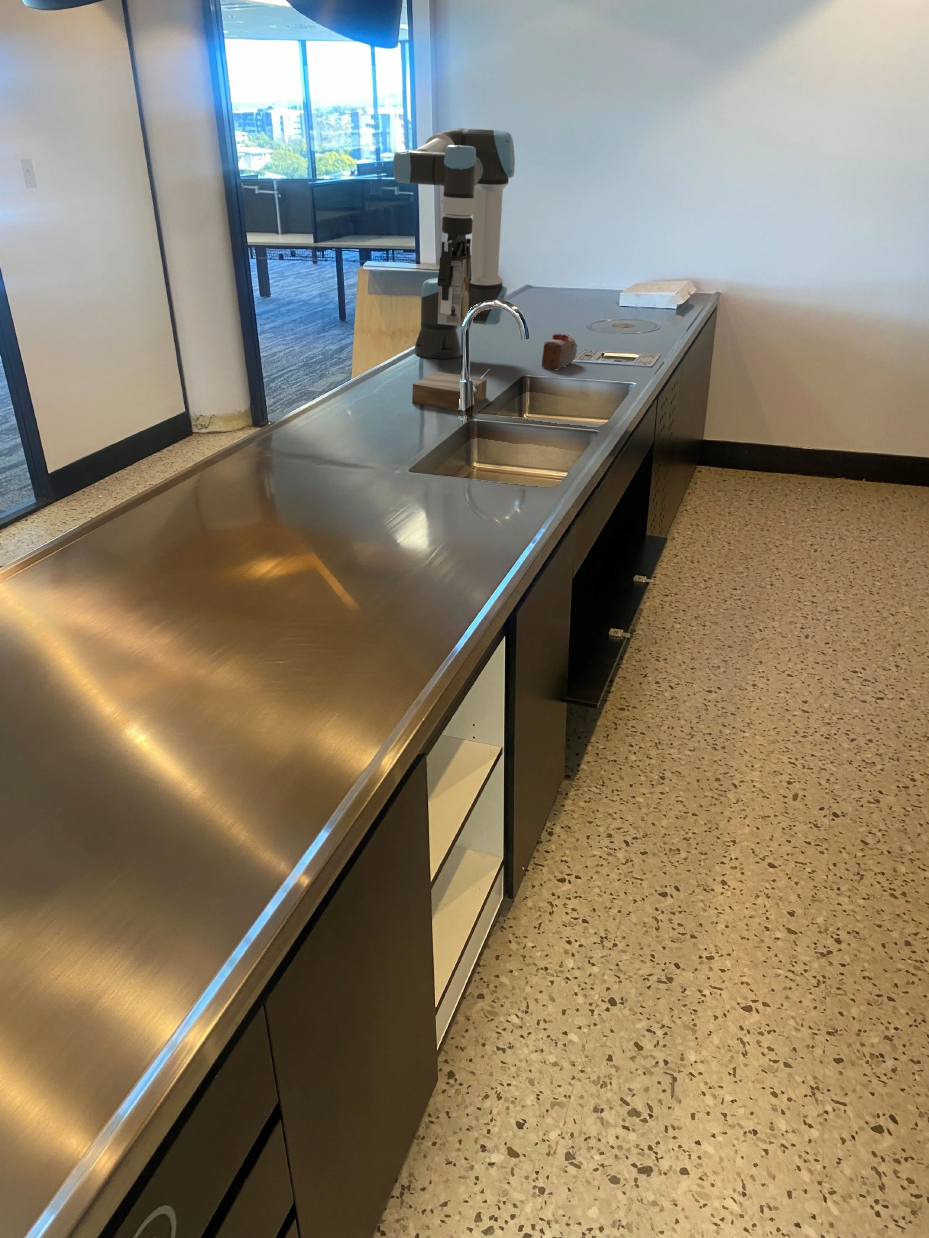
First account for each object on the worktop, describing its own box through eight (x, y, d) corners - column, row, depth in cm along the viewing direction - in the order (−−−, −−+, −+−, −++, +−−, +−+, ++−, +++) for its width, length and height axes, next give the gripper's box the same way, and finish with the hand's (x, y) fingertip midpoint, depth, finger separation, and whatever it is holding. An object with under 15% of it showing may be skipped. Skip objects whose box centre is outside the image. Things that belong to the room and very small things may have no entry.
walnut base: (436, 389, 249) (436, 371, 247) (485, 397, 245) (486, 379, 242) (412, 402, 236) (412, 384, 234) (464, 411, 232) (465, 392, 229)
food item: (553, 359, 290) (556, 328, 285) (576, 363, 287) (580, 332, 282) (538, 368, 279) (541, 335, 274) (562, 371, 276) (566, 339, 271)
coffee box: (444, 317, 235) (447, 253, 227) (468, 320, 234) (471, 255, 226) (436, 324, 227) (439, 257, 219) (461, 326, 226) (464, 259, 218)
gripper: (460, 212, 228) (456, 302, 239) (425, 217, 210) (422, 315, 221) (487, 214, 226) (482, 306, 237) (454, 220, 208) (450, 319, 219)
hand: (453, 310), depth 229 cm, fingers closed on coffee box, 10 cm apart
